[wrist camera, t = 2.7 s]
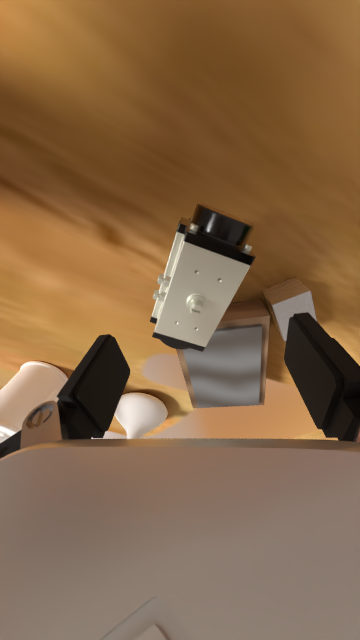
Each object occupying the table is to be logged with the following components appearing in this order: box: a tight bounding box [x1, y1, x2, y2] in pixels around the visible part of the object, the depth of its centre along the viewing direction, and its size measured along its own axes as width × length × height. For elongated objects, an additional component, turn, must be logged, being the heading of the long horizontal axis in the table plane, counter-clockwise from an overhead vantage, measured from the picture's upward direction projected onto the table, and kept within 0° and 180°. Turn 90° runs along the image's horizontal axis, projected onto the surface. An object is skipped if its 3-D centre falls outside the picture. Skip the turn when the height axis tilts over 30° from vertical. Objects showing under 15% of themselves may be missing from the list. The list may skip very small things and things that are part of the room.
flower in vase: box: [115, 393, 168, 439], centre depth 31 cm, size 13×11×25 cm
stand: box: [176, 299, 270, 408], centre depth 30 cm, size 18×12×5 cm, turn 11°
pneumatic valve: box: [150, 203, 255, 352], centre depth 18 cm, size 6×12×12 cm, turn 162°
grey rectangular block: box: [262, 277, 317, 342], centre depth 24 cm, size 6×4×4 cm, turn 29°
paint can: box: [0, 361, 68, 443], centre depth 30 cm, size 10×9×20 cm
